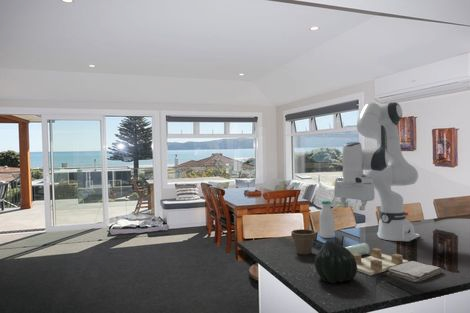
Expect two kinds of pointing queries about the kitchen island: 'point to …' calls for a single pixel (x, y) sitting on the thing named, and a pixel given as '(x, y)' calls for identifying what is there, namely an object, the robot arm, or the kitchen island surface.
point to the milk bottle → (326, 220)
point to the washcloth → (414, 271)
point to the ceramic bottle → (359, 249)
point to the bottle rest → (377, 262)
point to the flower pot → (303, 240)
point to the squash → (335, 263)
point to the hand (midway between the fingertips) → (353, 208)
